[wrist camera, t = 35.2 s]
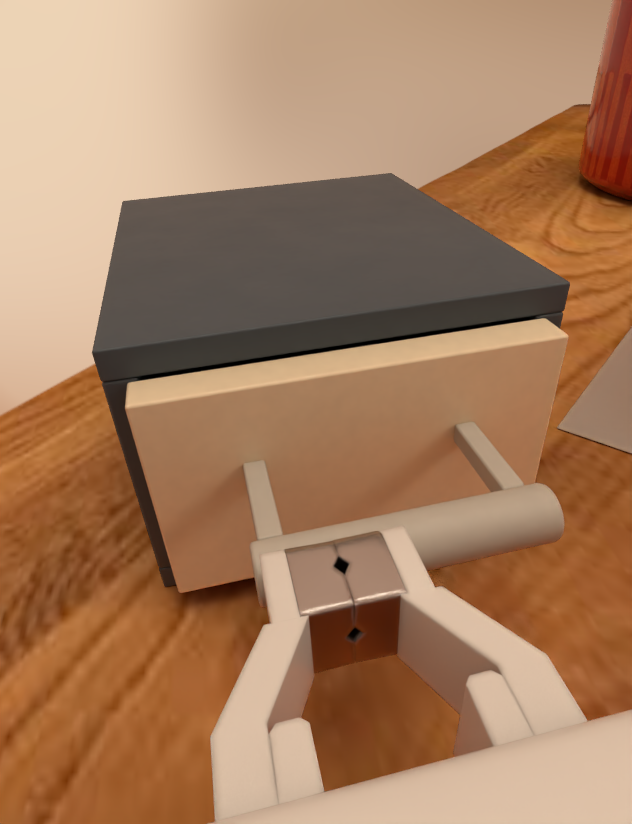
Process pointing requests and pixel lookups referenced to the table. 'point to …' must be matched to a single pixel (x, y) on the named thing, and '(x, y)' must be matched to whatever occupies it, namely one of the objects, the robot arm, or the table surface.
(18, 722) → the table surface
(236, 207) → the cabinet
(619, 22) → the planter
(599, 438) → the architectural model
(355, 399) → the drawer
